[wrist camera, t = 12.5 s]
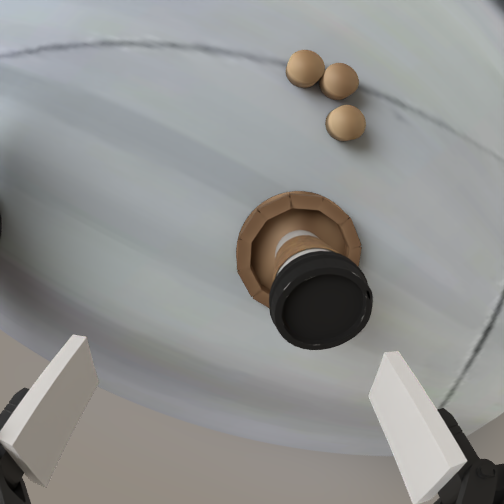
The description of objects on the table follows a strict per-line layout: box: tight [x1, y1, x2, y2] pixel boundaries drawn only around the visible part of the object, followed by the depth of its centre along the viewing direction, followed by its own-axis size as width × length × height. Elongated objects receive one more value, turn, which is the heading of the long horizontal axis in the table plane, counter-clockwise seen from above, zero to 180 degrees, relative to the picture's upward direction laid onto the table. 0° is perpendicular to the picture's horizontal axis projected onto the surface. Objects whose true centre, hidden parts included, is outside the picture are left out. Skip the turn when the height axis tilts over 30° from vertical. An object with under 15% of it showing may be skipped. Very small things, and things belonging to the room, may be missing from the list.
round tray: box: [236, 191, 362, 308], centre depth 36 cm, size 15×15×2 cm
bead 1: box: [286, 50, 325, 88], centre depth 29 cm, size 4×4×3 cm
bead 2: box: [319, 63, 359, 100], centre depth 30 cm, size 4×4×3 cm
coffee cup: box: [269, 230, 373, 350], centre depth 29 cm, size 8×8×15 cm
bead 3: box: [325, 105, 366, 141], centre depth 31 cm, size 4×4×3 cm
